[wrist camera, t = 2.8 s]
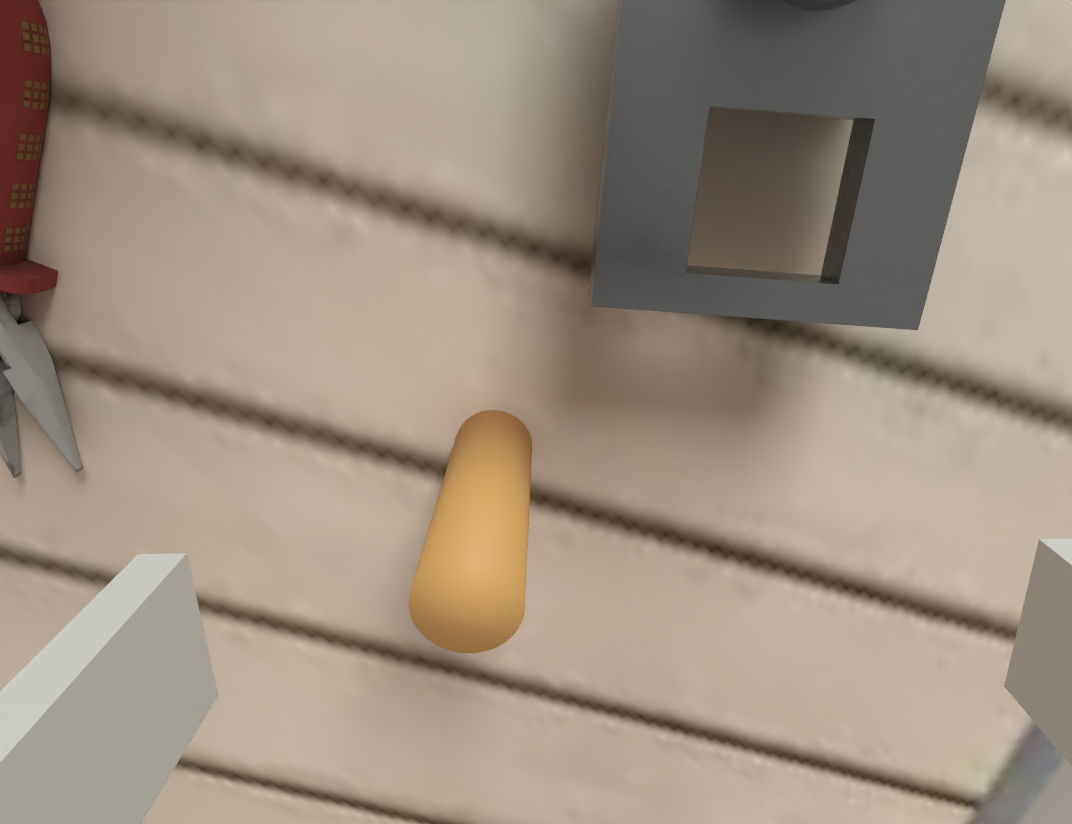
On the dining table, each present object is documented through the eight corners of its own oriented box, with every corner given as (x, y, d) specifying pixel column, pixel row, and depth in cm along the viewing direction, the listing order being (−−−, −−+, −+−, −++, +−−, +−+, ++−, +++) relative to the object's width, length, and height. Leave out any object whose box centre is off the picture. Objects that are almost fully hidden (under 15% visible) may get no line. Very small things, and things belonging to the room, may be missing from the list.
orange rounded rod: (454, 478, 31) (408, 649, 20) (456, 407, 30) (409, 551, 19) (529, 483, 31) (520, 656, 21) (534, 413, 30) (528, 559, 19)
